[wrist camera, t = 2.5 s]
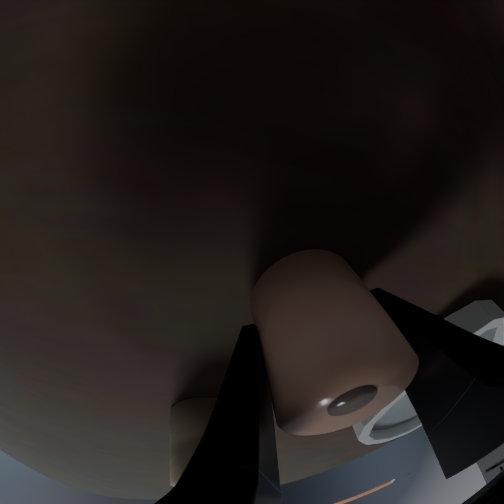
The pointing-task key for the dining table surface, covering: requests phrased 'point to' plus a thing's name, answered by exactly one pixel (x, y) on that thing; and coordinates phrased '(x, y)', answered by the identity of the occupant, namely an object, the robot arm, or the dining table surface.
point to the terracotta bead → (326, 344)
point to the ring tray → (401, 410)
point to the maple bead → (187, 431)
